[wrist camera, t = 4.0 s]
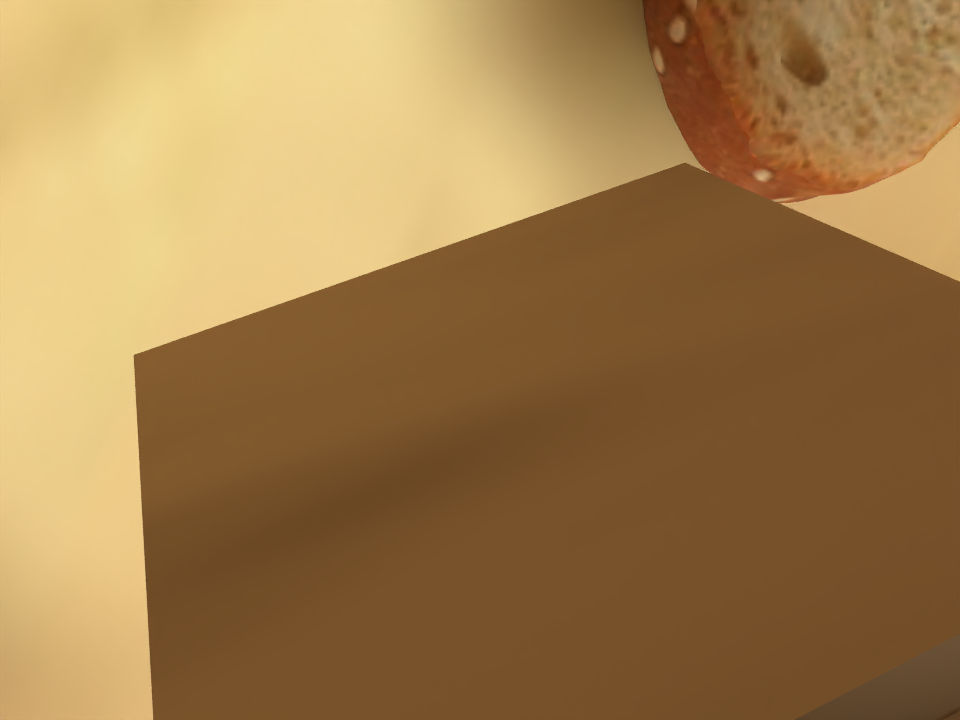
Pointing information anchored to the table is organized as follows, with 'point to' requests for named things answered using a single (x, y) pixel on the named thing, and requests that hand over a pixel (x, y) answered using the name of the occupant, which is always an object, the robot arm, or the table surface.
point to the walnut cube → (568, 479)
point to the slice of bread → (808, 87)
